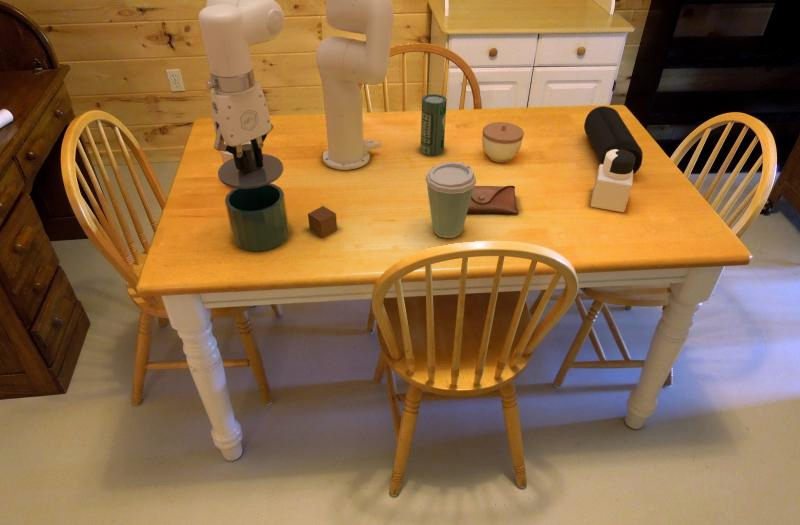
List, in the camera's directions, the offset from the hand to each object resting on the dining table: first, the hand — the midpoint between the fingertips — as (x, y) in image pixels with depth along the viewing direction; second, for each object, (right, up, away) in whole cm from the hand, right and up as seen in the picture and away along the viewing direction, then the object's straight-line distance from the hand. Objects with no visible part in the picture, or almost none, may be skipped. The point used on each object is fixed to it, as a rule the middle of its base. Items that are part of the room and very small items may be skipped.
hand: (250, 167), depth 113 cm
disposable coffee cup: (+41, -12, +13) cm, 44 cm away
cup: (0, -13, +10) cm, 17 cm away
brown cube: (+13, -12, +12) cm, 22 cm away
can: (+39, +11, +41) cm, 58 cm away
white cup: (-9, +1, +28) cm, 29 cm away
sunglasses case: (+49, -6, +20) cm, 54 cm away
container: (+81, -5, +22) cm, 84 cm away
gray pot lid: (0, -1, +1) cm, 1 cm away
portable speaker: (+87, +9, +39) cm, 96 cm away
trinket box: (+58, +9, +39) cm, 70 cm away
